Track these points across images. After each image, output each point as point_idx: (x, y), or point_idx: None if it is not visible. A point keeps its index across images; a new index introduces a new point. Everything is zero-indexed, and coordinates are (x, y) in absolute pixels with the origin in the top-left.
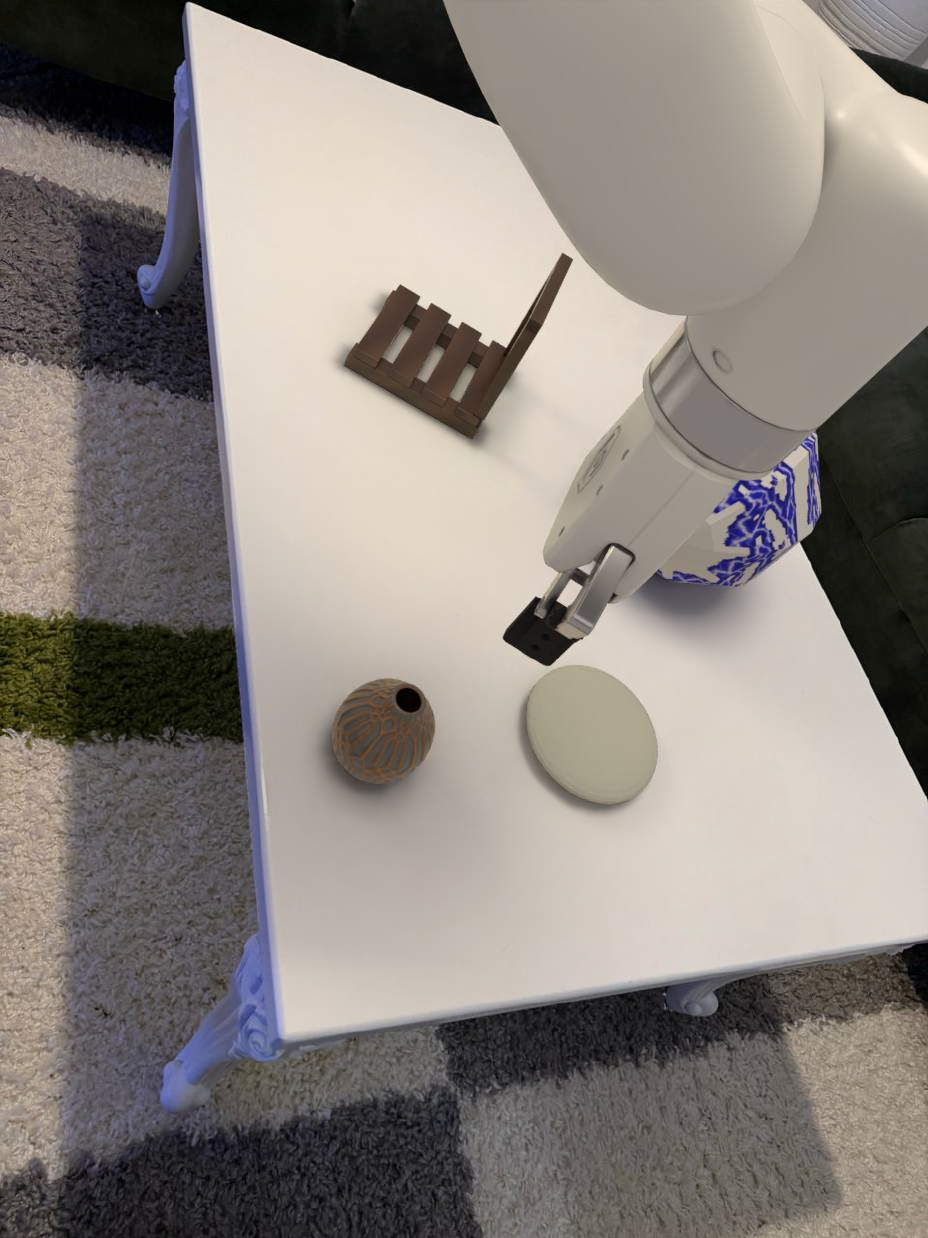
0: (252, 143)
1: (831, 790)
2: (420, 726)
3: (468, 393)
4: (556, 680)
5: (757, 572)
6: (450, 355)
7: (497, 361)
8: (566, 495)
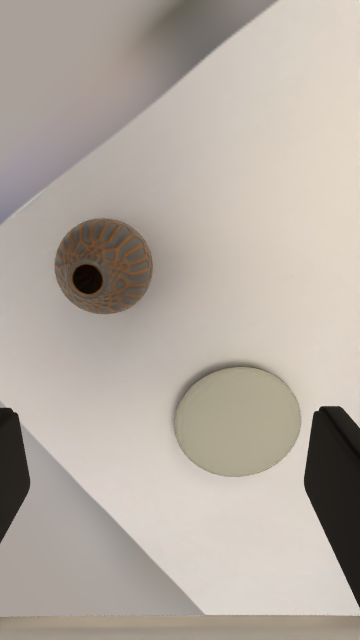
0: None
1: (303, 584)
2: (85, 301)
3: None
4: (263, 385)
5: None
6: None
7: None
8: (214, 635)
